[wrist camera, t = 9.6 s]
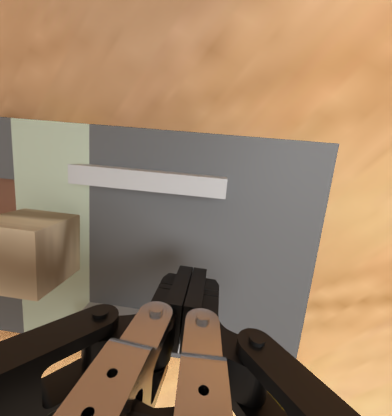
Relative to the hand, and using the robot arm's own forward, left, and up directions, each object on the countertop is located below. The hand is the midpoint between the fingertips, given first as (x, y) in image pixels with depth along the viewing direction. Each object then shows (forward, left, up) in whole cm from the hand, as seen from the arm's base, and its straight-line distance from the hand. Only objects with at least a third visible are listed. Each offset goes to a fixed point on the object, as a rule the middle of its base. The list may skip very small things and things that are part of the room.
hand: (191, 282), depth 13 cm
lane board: (+1, -8, -9) cm, 12 cm away
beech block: (0, -12, -5) cm, 13 cm away
